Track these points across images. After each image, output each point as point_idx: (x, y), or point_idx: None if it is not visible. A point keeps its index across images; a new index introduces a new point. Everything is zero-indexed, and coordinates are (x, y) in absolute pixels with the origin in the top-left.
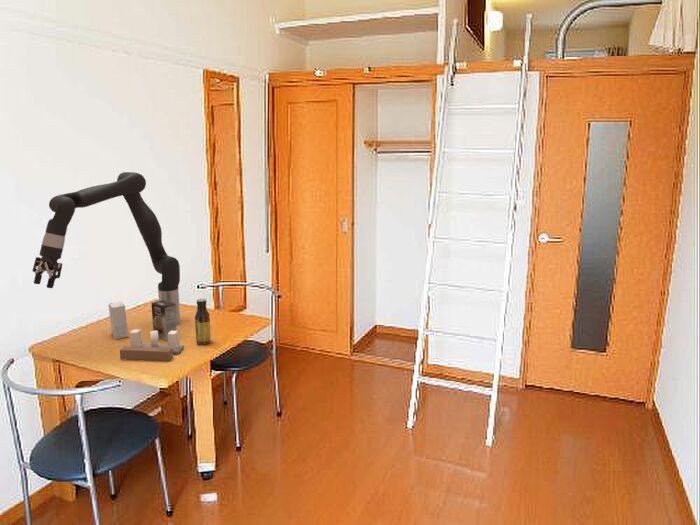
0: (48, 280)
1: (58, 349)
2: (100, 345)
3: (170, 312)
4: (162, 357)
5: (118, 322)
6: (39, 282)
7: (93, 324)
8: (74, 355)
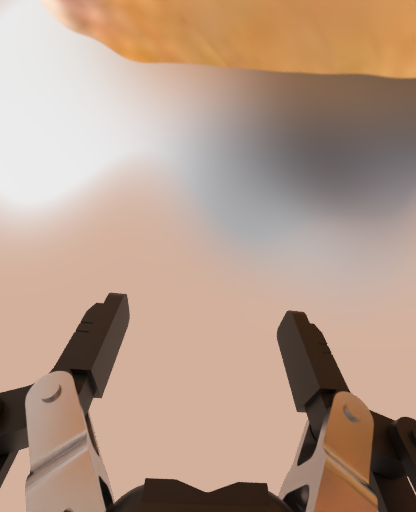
0: (296, 389)
1: (194, 15)
2: None
3: None
4: None
5: None
6: (121, 306)
7: None
8: (297, 41)
